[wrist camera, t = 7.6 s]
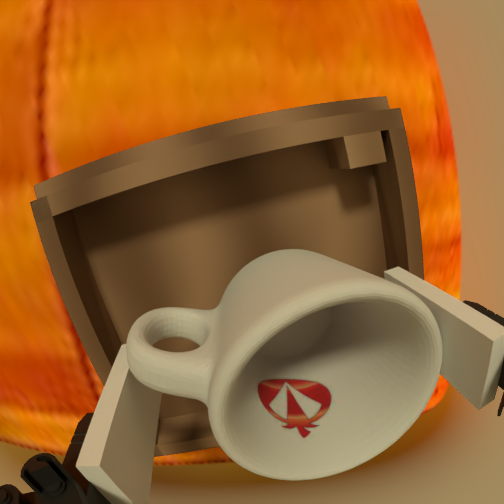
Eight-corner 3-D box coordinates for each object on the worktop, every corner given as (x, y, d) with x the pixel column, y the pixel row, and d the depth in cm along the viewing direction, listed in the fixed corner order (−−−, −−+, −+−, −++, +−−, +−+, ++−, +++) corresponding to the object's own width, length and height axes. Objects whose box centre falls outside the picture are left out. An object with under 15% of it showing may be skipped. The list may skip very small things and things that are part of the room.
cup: (145, 363, 16) (121, 478, 8) (152, 213, 14) (101, 257, 7) (334, 371, 18) (397, 465, 10) (367, 239, 16) (474, 290, 9)
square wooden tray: (147, 431, 20) (141, 467, 17) (43, 184, 15) (10, 189, 12) (406, 355, 22) (433, 380, 18) (376, 99, 17) (410, 88, 13)
